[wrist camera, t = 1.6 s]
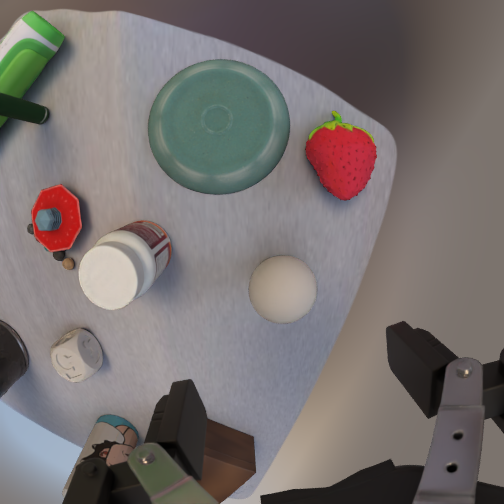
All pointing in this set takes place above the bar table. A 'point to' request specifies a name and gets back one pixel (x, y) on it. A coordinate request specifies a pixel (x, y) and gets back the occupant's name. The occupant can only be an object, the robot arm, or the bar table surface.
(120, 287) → the pill bottle
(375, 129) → the bar table surface
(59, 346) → the die
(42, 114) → the flashlight
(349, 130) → the strawberry
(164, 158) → the saucer
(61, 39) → the speaker
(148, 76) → the bar table surface
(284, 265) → the light bulb
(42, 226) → the red spinning top
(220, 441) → the shelf
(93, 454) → the cup
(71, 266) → the beads
